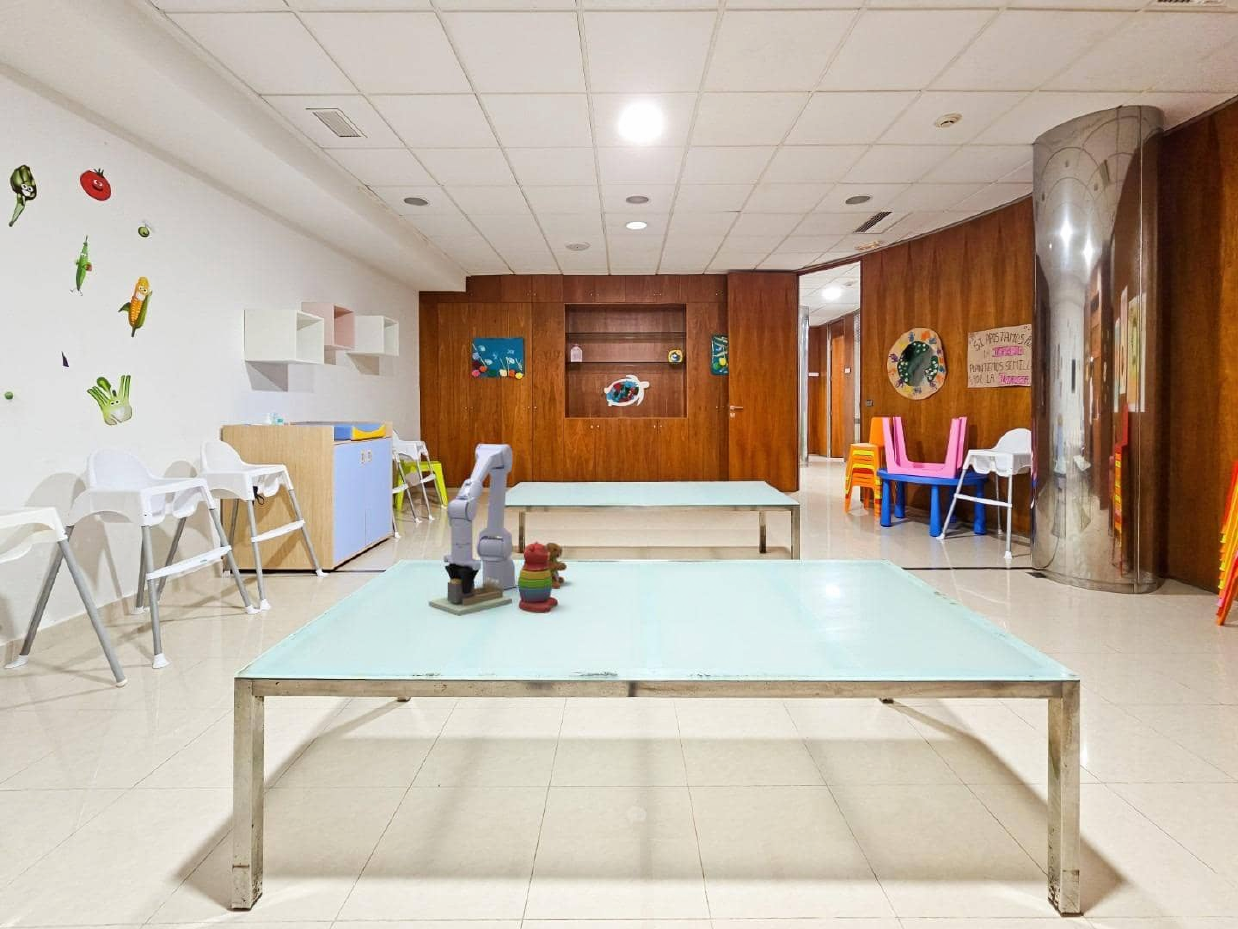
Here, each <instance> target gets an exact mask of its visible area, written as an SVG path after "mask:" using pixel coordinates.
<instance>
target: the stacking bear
mask: <svg viewBox="0 0 1238 929" xmlns="http://www.w3.org/2000/svg"><path fill="white" fill-rule="evenodd" d="M544 545H545V544H542V543H540V542H538V541H535V542H534V543H530V544H528V545H526V546H525V548H524V550H523V559H524V561H525V562H526V564H523V565H522V567H521V569H520V571H519V576H518V580H517V585H518V586H517V587H518V589H517V590H518V593H519V598H520V600H519V602H518V608H519V609H521V610H523V611H527V612H531V613H549V612H550V611H551V610H552V607H555V606H557V605H558V604H559V602H558V599H557V598H555V597H552V596H551V595H552V590H553V588H552V577H551V572H550V569H549V566H548V564H547V562H548V561H549V559H550V557H551V554H550V552H549V551H548V550H547V549H546V548H545V546H544Z"/></svg>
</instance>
